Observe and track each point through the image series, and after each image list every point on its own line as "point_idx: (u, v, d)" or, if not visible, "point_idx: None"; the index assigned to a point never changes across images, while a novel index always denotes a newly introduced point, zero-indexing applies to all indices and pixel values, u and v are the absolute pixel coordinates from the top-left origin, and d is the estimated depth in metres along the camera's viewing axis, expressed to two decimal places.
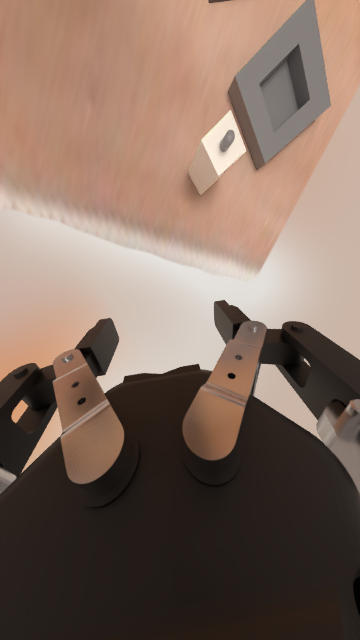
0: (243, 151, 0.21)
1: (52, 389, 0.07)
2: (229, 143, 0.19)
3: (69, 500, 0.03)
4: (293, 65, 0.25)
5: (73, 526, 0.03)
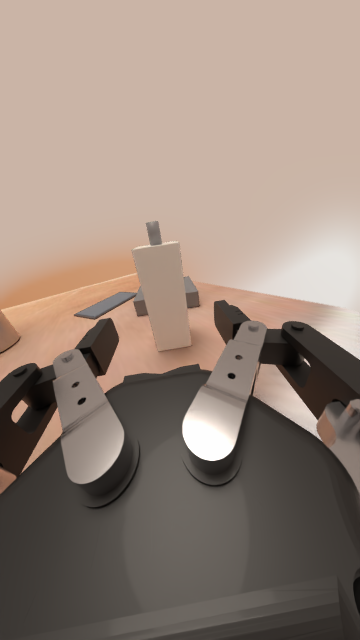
0: (174, 241, 0.18)
1: (52, 389, 0.07)
2: (156, 221, 0.15)
3: (69, 500, 0.03)
4: None
5: (73, 526, 0.03)
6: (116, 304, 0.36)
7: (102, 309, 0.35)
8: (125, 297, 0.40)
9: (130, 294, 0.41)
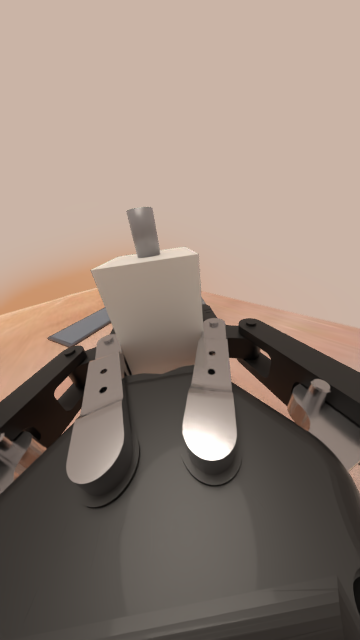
0: (183, 248, 0.10)
1: None
2: (148, 208, 0.07)
3: (69, 500, 0.03)
4: None
5: (73, 526, 0.03)
6: (103, 323, 0.28)
7: (83, 331, 0.27)
8: None
9: None
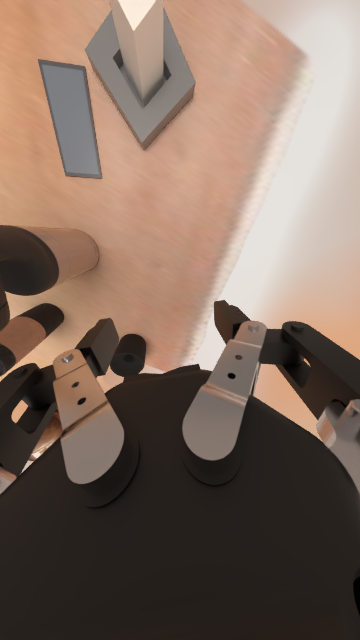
0: None
1: (52, 389, 0.07)
2: None
3: (69, 500, 0.03)
4: (120, 60, 0.25)
5: (73, 526, 0.03)
6: (91, 132, 0.29)
7: (87, 153, 0.30)
8: (78, 96, 0.27)
9: (75, 78, 0.26)
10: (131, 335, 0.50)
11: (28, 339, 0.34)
